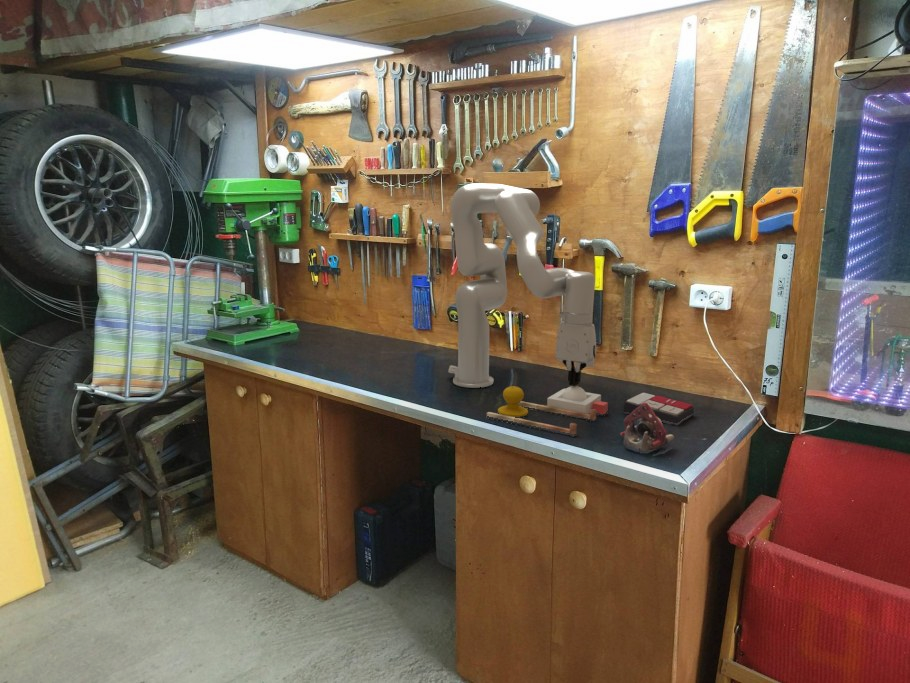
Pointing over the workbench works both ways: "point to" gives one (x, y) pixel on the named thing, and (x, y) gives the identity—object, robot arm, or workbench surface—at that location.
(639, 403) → the grey red flat block
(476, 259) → the robot arm
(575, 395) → the dome
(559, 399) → the dome base
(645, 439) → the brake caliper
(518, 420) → the wooden brackets
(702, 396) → the workbench surface
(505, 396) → the doorknob
